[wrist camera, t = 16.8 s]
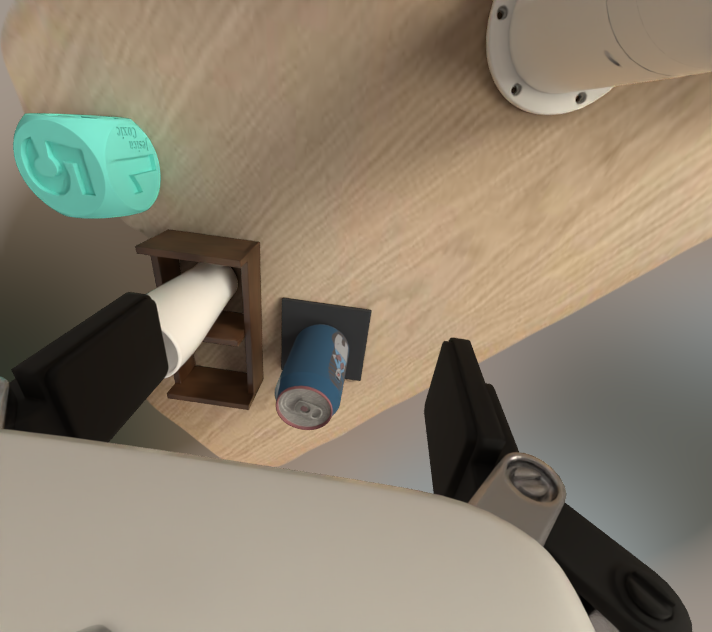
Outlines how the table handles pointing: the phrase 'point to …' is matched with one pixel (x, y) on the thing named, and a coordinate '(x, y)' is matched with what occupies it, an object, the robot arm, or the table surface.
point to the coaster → (340, 317)
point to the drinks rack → (228, 326)
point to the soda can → (312, 378)
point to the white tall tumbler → (191, 308)
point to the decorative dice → (87, 164)
